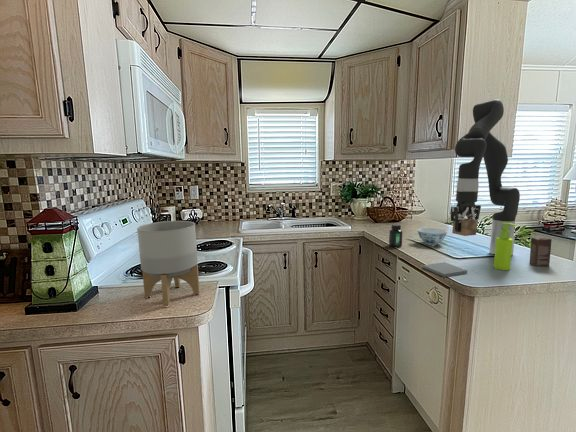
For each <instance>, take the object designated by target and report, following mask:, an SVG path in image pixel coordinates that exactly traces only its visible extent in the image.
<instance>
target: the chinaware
mask: <svg viewBox="0 0 576 432" xmlns="http://www.w3.org/2000/svg"><path fill="white" fill-rule="evenodd" d="M447 232H448V231H447V230H446V229H442V228H437V227H436V228H434V227H422V228H421V227H420V228H417V234H418V237H419V238H420V239H421V240H422V241H423V242H424V244H425V245H427V244H428V246H437V244H438V245H439V243H441V242H442V241H444V239H445V237H446V236H447Z"/></svg>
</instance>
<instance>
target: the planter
mask: <svg viewBox="0 0 576 432" xmlns="http://www.w3.org/2000/svg"><path fill="white" fill-rule="evenodd" d="M136 231H137V240H138V241H137V242H138V251H139V252H138V253H139V261H140V269H141V271H142V281H143V293H144V298H145V297H150V296H151V295H152V294H153V293H152V292H153V288H154V287H155V286H156V285H157V283H159V282H161V293H162V304H163V305H162V306H163V307H164V306H168V305H169V304H170V305H171V301H170V296H171V295H170V293H171V284H172V281H174V287H180V288H181V280H182V281H184V282H186V283H187V284H188V286H190V288H191V290H192V292H193V293H192V294H193V295H194V294H199V293H200V292H201V290H200V279H199V266H198V265H199V264H198V261H199V260H198V248H197V247H198V246H197V234H196V223H195V222H194V221H189V220H168V221H167V220H166V221H157V222H150V223H146V224H145V223H144V224H143V225H140V226H137V228H136ZM199 295H200V294H199ZM170 305H169V306H170Z"/></svg>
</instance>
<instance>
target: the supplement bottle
mask: <svg viewBox="0 0 576 432" xmlns="http://www.w3.org/2000/svg"><path fill="white" fill-rule="evenodd" d="M390 228H391V229H389V235H388V236H389V237H388V246H389V248H395V249H398V248H400V249H401V248H402V247H403V231H402V225H401V224H397V223H395V224H391V227H390Z"/></svg>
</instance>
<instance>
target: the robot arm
mask: <svg viewBox="0 0 576 432" xmlns="http://www.w3.org/2000/svg"><path fill="white" fill-rule="evenodd" d="M504 111H505V109H504V104H503V102H502V100H500V99H493V100H492V99H491V100H488V101H483V102H481V103H477V104H475V105H474V106H473V108H472V117H473V121H474V124H473V125H472V126H471V127H470V129H469V131H467V133H465V134H464V135H463V136H462V137H460V138H459V139H458V141H457V142H456V144H455V146H454V152H455V155H457V156H458V157H459V158H473V159H472V160H471V161H469V162H465V163H464V162H463V163H462V164H459V167H458V177H457V183H456V195H455V201H456V202H457V204H456V205H455V206H450V221H451V222H453V221H454V222H455V231H456V232H461V222H462V219H463V218H468V219H474V220H477V221H478V220H479V218H480V213H481V208H482V206H481V205H479V204H476V203H477V202H478V196H479V184H480V183H479V175H480V174H479V173H480V167H481V163H482V160H483V162H484V165H485V166H484V167H485V169H486V171H485V172H486V175H487V179H488V180H487V182H488V193H489V198H490V202H491V204H493V205H494V206H501V207H503V209H502V210H501V211H498V212H495V213H493V214H492V222H491V230H490V231H491V233H490V243H489V253H490V254H491V255H493V254H495V247H496V238H497V237H500V231H501V230H502V229H503V224H501V223H513V224H516V217H517V215H518V212H519V203H520V199H521V198H520V197H521V196H520V195H521V194H520V190H519V189H518V188H517V187H509V186H503V184H502V176H503V173H504V171H505V169H506V167H507V165H508V162H509V157H508V151H507V147H506V146H505V144H504V143H503V142H502V141H501V140H499V139H498V138H497V137H496V136H495V135H494V134H493V133H491V130H492V129H493V128H494V127H495V126H496V125H497V124H498V123H499V122H500V121H501V119H502V118H503V116H504ZM458 218H459V219H458ZM515 227H516V226H511V225H508V230H509V231H510V237H509V238H511V239H513V244H512V254H511V256H512V255H514V248H515V238H516V237H515V229H516V228H515Z"/></svg>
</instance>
